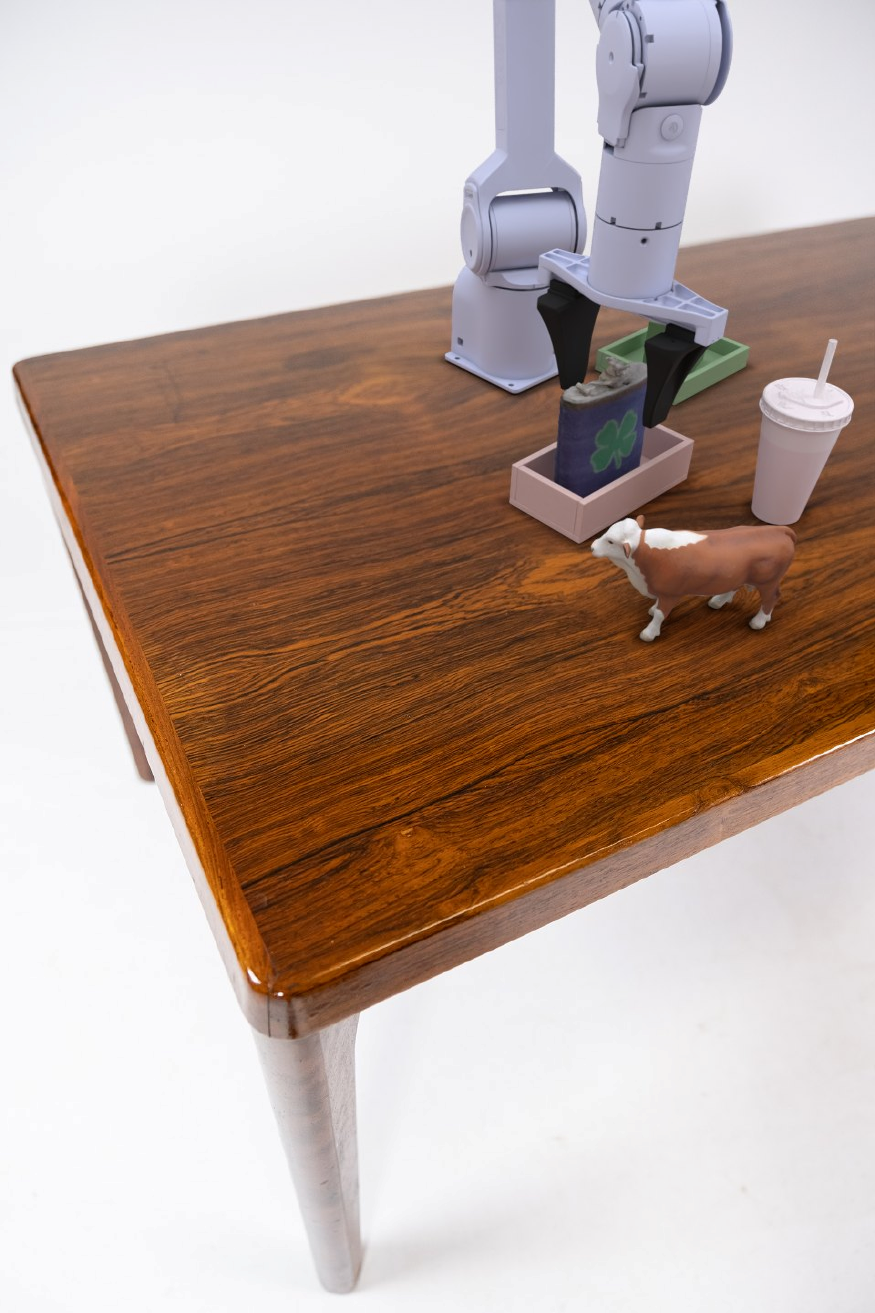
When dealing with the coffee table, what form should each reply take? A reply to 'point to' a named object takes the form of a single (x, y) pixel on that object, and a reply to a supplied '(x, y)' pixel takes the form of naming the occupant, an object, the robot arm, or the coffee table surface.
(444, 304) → the coffee table surface
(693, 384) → the green tray
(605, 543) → the bull figurine
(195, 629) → the coffee table surface
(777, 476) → the smoothie
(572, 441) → the flask
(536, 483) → the pink tray
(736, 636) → the coffee table surface
